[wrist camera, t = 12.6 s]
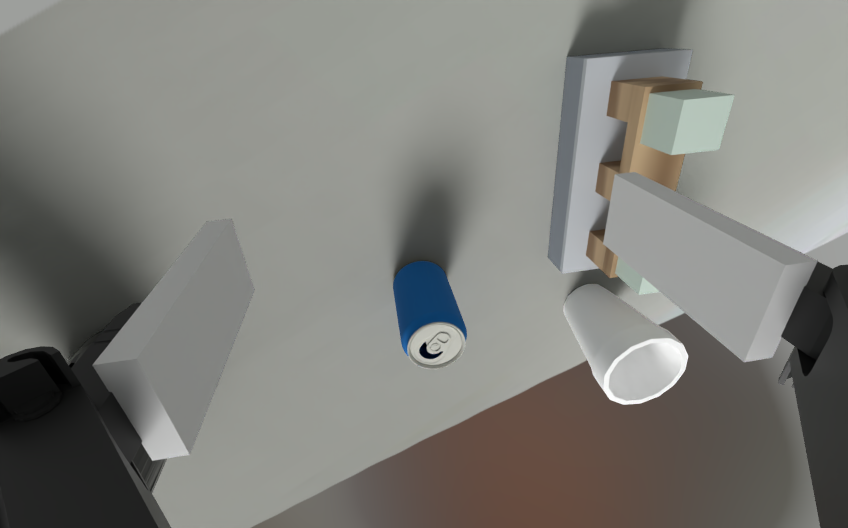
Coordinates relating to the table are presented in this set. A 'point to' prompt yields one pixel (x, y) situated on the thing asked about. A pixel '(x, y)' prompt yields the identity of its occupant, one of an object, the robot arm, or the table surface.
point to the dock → (594, 143)
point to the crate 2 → (686, 121)
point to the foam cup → (623, 346)
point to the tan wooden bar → (634, 151)
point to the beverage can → (428, 316)
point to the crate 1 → (633, 279)
